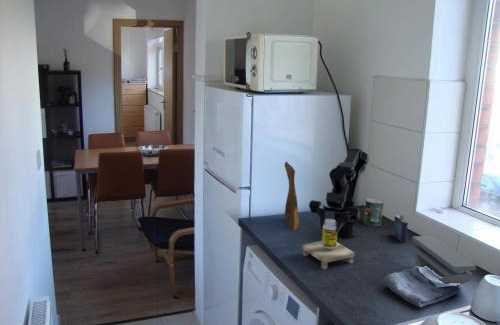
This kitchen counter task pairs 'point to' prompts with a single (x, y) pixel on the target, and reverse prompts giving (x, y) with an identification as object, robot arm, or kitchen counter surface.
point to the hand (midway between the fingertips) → (328, 230)
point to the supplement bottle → (329, 234)
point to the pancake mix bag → (291, 201)
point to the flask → (400, 228)
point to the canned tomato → (373, 211)
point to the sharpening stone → (442, 260)
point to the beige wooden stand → (328, 253)
